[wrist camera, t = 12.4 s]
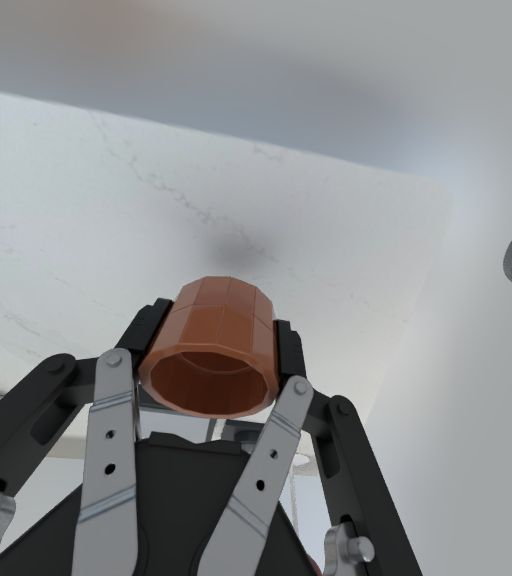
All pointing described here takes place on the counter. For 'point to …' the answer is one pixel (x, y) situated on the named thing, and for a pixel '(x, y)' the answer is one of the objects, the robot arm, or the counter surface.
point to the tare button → (247, 447)
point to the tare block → (241, 431)
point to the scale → (172, 420)
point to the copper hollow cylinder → (215, 351)
